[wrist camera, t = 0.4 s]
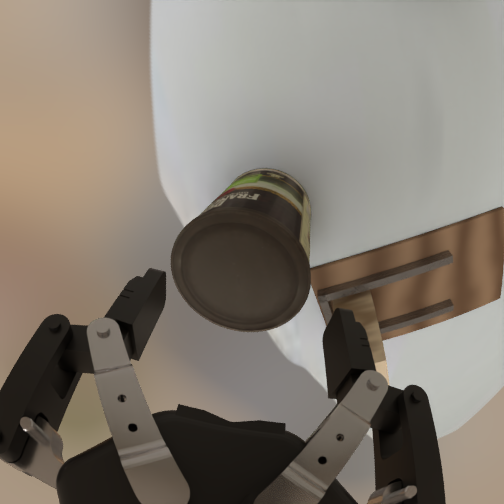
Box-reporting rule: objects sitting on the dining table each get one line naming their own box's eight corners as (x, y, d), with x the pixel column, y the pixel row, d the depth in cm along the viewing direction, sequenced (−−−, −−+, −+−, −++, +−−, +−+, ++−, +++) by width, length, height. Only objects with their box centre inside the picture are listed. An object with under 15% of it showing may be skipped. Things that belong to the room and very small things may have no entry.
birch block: (369, 288, 33) (386, 360, 23) (375, 317, 35) (389, 387, 25) (332, 299, 35) (336, 372, 25) (341, 326, 37) (345, 397, 26)
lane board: (501, 206, 25) (509, 212, 23) (498, 295, 30) (504, 303, 28) (306, 269, 34) (305, 278, 33) (335, 349, 40) (336, 359, 38)
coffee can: (206, 194, 32) (145, 248, 20) (284, 152, 28) (264, 181, 16) (250, 264, 36) (218, 345, 23) (326, 232, 32) (333, 310, 19)
